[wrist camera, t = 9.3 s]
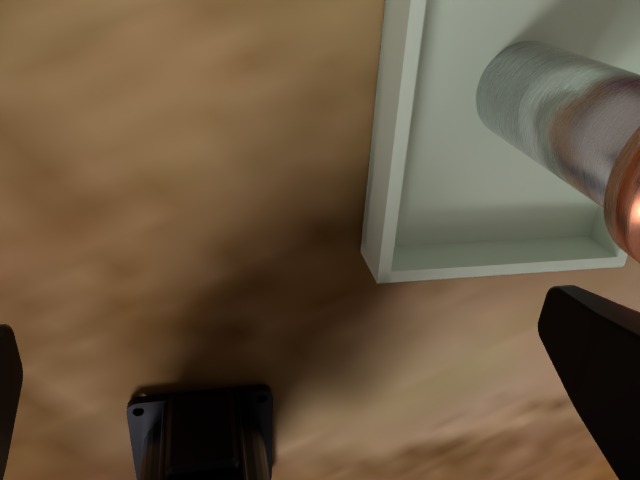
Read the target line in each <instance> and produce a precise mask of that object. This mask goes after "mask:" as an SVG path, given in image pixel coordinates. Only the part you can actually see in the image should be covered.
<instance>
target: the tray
mask: <svg viewBox="0 0 640 480" xmlns="http://www.w3.org/2000/svg"><path fill="white" fill-rule="evenodd" d="M523 41H539V42H542V43H546V44H549V45H552V46H555V47H558V48H561V49H564V50H567V51H570V52H573V53H576V54H579V55H582V56H585V57H588V58H591V59H594V60H597V61H600V62H603V63H606V64H609V65H612V66H615V67H618V68H621V69H624V70H627V71H630V72H633V73H636V74H639V75H640V0H385V7H384V17H383V27H382V37H381V48H380V58H379V68H378V78H377V88H376V98H375V108H374V119H373V129H372V139H371V149H370V159H369V169H368V179H367V190H366V200H365V210H364V220H363V230H362V240H361V250H360V252H361V254H362V256H363V258H364V260H365V261H366V263H367V265H368V267H369V269H370V271H371V273H372V275H373V277H374V279H375V281H376V282H377V284H378V283H393V282H407V281H422V280H436V279H451V278H465V277H480V276H494V275H509V274H523V273H538V272H552V271H566V270H581V269H595V268H610V267H624V265H625V262H626V259H627V257H628V254H627V253H625V252H624V251H623V250H622V249H620V248H619V247H618V246H617V245H616V244H615V243H614V241H613V240H612V238H611V237H610V235H609V233H608V231H607V228H606V225H605V220H604V214H603V207H601V206H600V205H598V204H597V203H595V202H594V201H592V200H591V199H589V198H588V197H587V196H585V195H584V194H582V193H581V192H579V191H578V190H576V189H575V188H573V187H572V186H570V185H569V184H567V183H566V182H565V181H563V180H562V179H560V178H559V177H557V176H556V175H554V174H553V173H551V172H550V171H548V170H547V169H546V168H544V167H543V166H541V165H540V164H538V163H537V162H535V161H534V160H532V159H531V158H529V157H528V156H527V155H525V154H524V153H522V152H521V151H519V150H518V149H516V148H515V147H513V146H512V145H510V144H509V143H508V142H506V141H505V140H503V139H502V138H500V137H499V136H497V135H496V134H494V133H493V132H491V131H490V130H489V129H488V128H486V126H485V125H484V124H483V123H482V121H481V120H480V117H479V115H478V112H477V108H476V92H477V87H478V83H479V81H480V78H481V76H482V74H483V72H484V70H485V69H486V67H487V65H488V64H489V63H490V62H491V60H492V59H493V58H494V57H495V56H496V55H497V54H499V53H500V52H501V51H502V50H504V49H506V48H507V47H509V46H511V45H513V44H516V43H519V42H523Z"/></svg>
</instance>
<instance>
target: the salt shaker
mask: <svg viewBox="0 0 640 480" xmlns="http://www.w3.org/2000/svg"><path fill="white" fill-rule="evenodd" d="M476 108H477V112H478V115H479V117H480V120H481V121H482V123H483V124H484V125H485V126H486V128H488V129H489V130H490V131H491V132H493V133H494V134H496V135H497V136H499V137H500V138H502V139H503V140H505V141H506V142H508V143H509V144H510V145H512V146H513V147H515V148H516V149H518V150H519V151H521V152H522V153H524V154H525V155H527V156H528V157H529V158H531V159H532V160H534V161H535V162H537V163H538V164H540V165H541V166H543V167H544V168H546V169H547V170H548V171H550V172H551V173H553V174H554V175H556V176H557V177H559V178H560V179H562V180H563V181H565V182H566V183H567V184H569V185H570V186H572V187H573V188H575V189H576V190H578V191H579V192H581V193H582V194H584V195H585V196H587V197H588V198H589V199H591V200H592V201H594V202H595V203H597V204H598V205H600V206H601V207H603V214H604V220H605V225H606V228H607V231H608V233H609V235H610V237H611V238H612V240H613V241H614V243H615V244H616V245H617V246H618V247H619V248H620V249H622V250H623V251H624V252H625V253H627V254H628V255H629V256H631V257H632V258H633V259H635V260H636V261H637V262H639V263H640V75H639V74H636V73H633V72H630V71H627V70H624V69H621V68H618V67H615V66H612V65H609V64H606V63H603V62H600V61H597V60H594V59H591V58H588V57H585V56H582V55H579V54H576V53H573V52H570V51H567V50H564V49H561V48H558V47H555V46H552V45H549V44H546V43H542V42H539V41H523V42H519V43H516V44H513V45H511V46H509V47H507V48H506V49H504V50H502V51H501V52H500V53H499V54H497V55H496V56H495V57H494V58H493V59H492V60H491V62H490V63H489V64H488V65H487V67H486V69H485V70H484V72H483V74H482V76H481V78H480V81H479V83H478V87H477V92H476Z"/></svg>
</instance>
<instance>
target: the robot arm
mask: <svg viewBox="0 0 640 480" xmlns="http://www.w3.org/2000/svg"><path fill="white" fill-rule="evenodd" d="M538 333H539V336H540V338H541V341H542V343H543V345H544V347H545V349H546V351H547V353H548V355H549V357H550V359H551V361H552V363H553V365H554V367H555V369H556V371H557V373H558V375H559V377H560V379H561V381H562V383H563V386H564V388H565V390H566V392H567V394H568V396H569V398H570V400H571V401H572V403H573V405H574V407H575V409H576V411H577V412H578V414H579V416H580V417H581V419H582V421H583V422H584V424H585V426H586V427H587V429H588V430H589V432H590V434H591V435H592V437H593V438H594V440H595V442H596V443H597V445H598V447H599V448H600V450H601V451H602V453H603V455H604V456H605V458H606V459H607V461H608V463H609V464H610V466H611V468H612V469H613V471H614V472H615V474H616V476H617V477H618V479H619V480H640V312H638V311H635V310H633V309H630V308H628V307H626V306H623V305H621V304H618V303H616V302H613V301H611V300H609V299H606V298H604V297H601V296H599V295H596V294H594V293H592V292H589V291H587V290H584V289H582V288H579V287H577V286H574V285H564V286H553V287H552V288H550V289H549V290H548V292H547V294H546V298H545V301H544V304H543V308H542V311H541V314H540V318H539V321H538ZM22 381H23V368H22V363H21V359H20V355H19V351H18V347H17V343H16V340H15V336H14V332H13V330H12V328H11V327H10V326H9V325H7V324H1V325H0V480H3V477H4V473H5V468H6V464H7V459H8V454H9V449H10V444H11V439H12V434H13V428H14V423H15V418H16V413H17V408H18V402H19V397H20V392H21V387H22ZM259 395H264V396H262V397H259ZM135 408H142V409H140V410H138V409H135ZM272 414H273V396H272V391H271V388H270V387H269V386H267V385H252V386H242V387H232V388H223V389H213V390H203V391H193V392H183V393H174V394H164V395H154V396H144V397H136V398H133V399H131V400H130V401H129V402H128V406H127V419H128V426H129V432H130V438H131V445H132V451H133V458H134V464H135V471H136V477H137V480H271V478H272Z"/></svg>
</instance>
